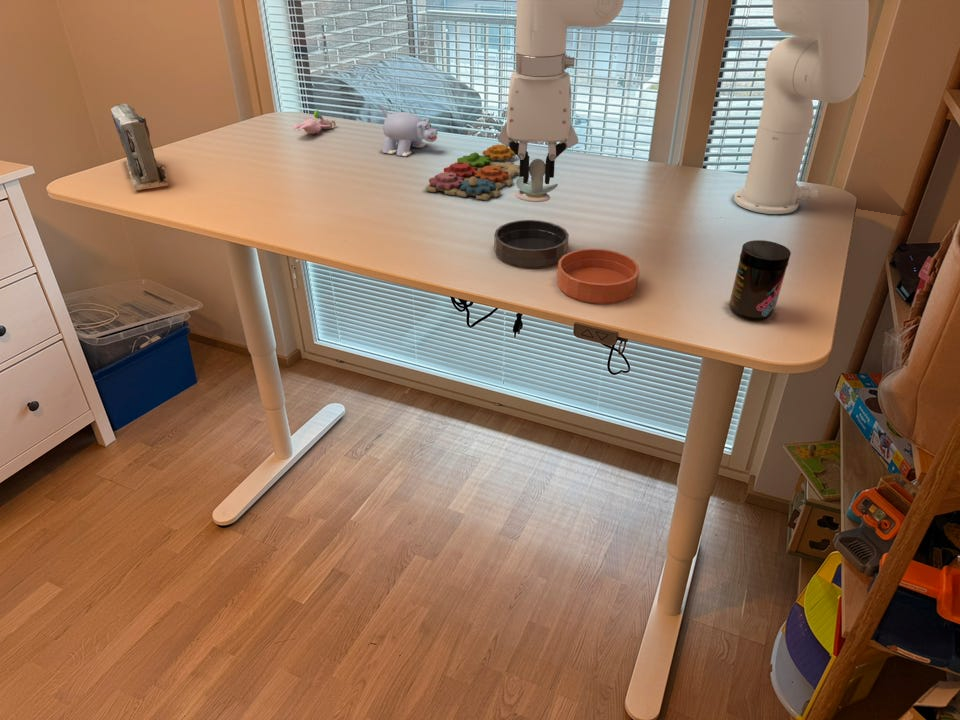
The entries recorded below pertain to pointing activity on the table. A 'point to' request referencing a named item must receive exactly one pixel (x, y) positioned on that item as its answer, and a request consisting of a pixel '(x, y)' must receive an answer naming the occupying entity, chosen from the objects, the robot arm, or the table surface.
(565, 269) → the terracotta bowl
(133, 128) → the radio
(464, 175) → the gear puzzle
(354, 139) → the table surface
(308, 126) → the rabbit figure
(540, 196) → the pacifier
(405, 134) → the hippopotamus toy
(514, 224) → the charcoal bowl
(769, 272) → the supplement container
